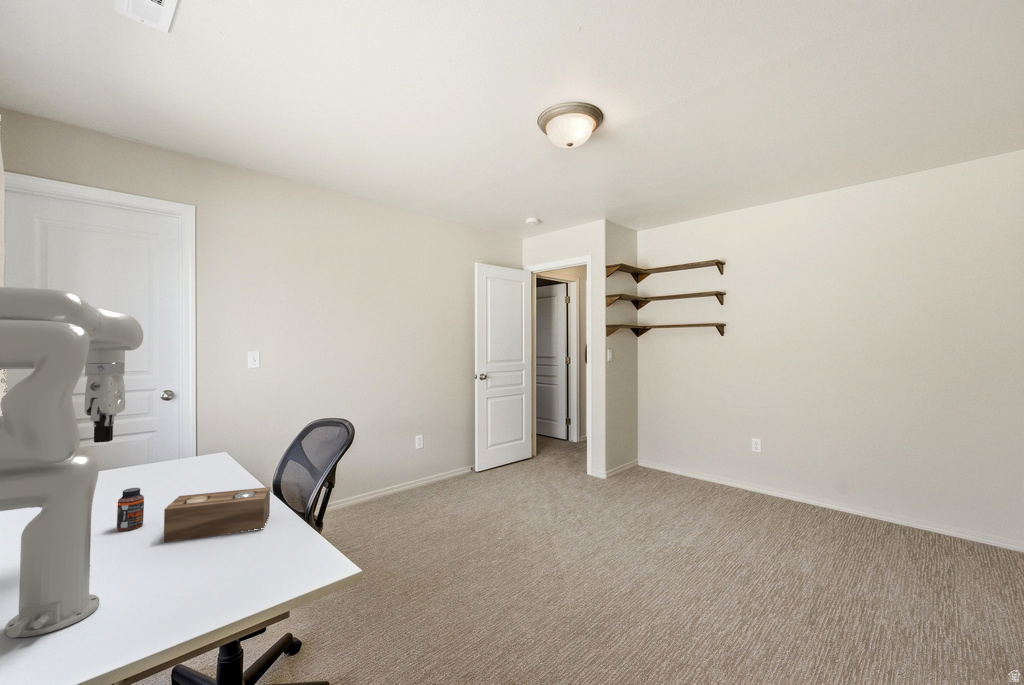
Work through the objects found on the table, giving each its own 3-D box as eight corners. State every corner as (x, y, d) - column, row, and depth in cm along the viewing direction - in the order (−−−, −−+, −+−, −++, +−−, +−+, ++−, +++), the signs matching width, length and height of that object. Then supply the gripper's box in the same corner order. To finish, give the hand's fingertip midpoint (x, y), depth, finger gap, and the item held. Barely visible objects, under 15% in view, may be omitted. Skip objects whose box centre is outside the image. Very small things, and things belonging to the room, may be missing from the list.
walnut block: (263, 529, 128) (263, 498, 128) (163, 542, 119) (164, 509, 120) (269, 515, 139) (269, 487, 140) (178, 526, 130) (179, 496, 131)
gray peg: (252, 525, 130) (252, 495, 130) (232, 528, 128) (233, 497, 129) (255, 520, 135) (255, 490, 135) (236, 522, 133) (236, 492, 133)
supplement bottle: (127, 532, 126) (128, 493, 126) (111, 531, 127) (112, 491, 127) (148, 524, 132) (149, 487, 132) (132, 523, 133) (133, 485, 133)
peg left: (204, 532, 126) (204, 500, 126) (183, 534, 124) (184, 502, 124) (209, 525, 130) (209, 495, 131) (188, 528, 128) (189, 497, 129)
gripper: (109, 371, 107) (107, 446, 106) (135, 369, 121) (134, 435, 120) (69, 371, 104) (67, 448, 104) (101, 369, 118) (99, 437, 118)
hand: (103, 441), depth 112 cm, fingers closed
